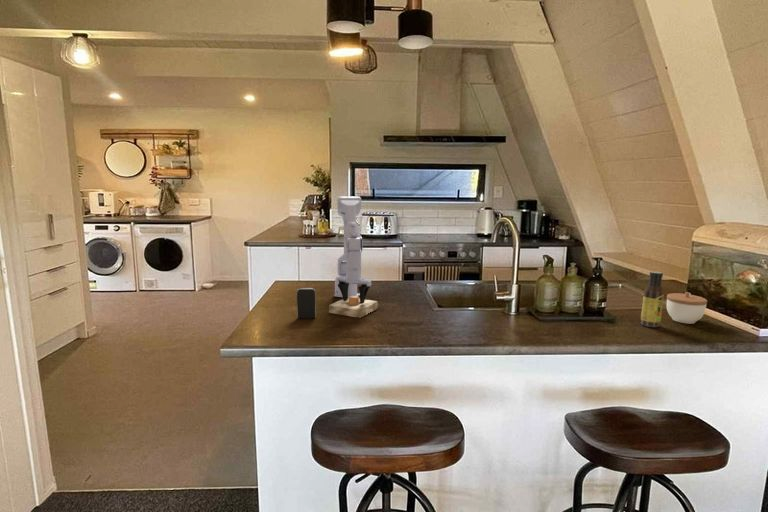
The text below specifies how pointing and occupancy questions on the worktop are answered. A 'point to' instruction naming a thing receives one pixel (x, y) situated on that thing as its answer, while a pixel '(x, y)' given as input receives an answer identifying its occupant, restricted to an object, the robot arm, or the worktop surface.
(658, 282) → the sauce bottle
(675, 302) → the lidded bowl
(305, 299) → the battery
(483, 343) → the worktop surface
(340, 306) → the socket block
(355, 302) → the peg
